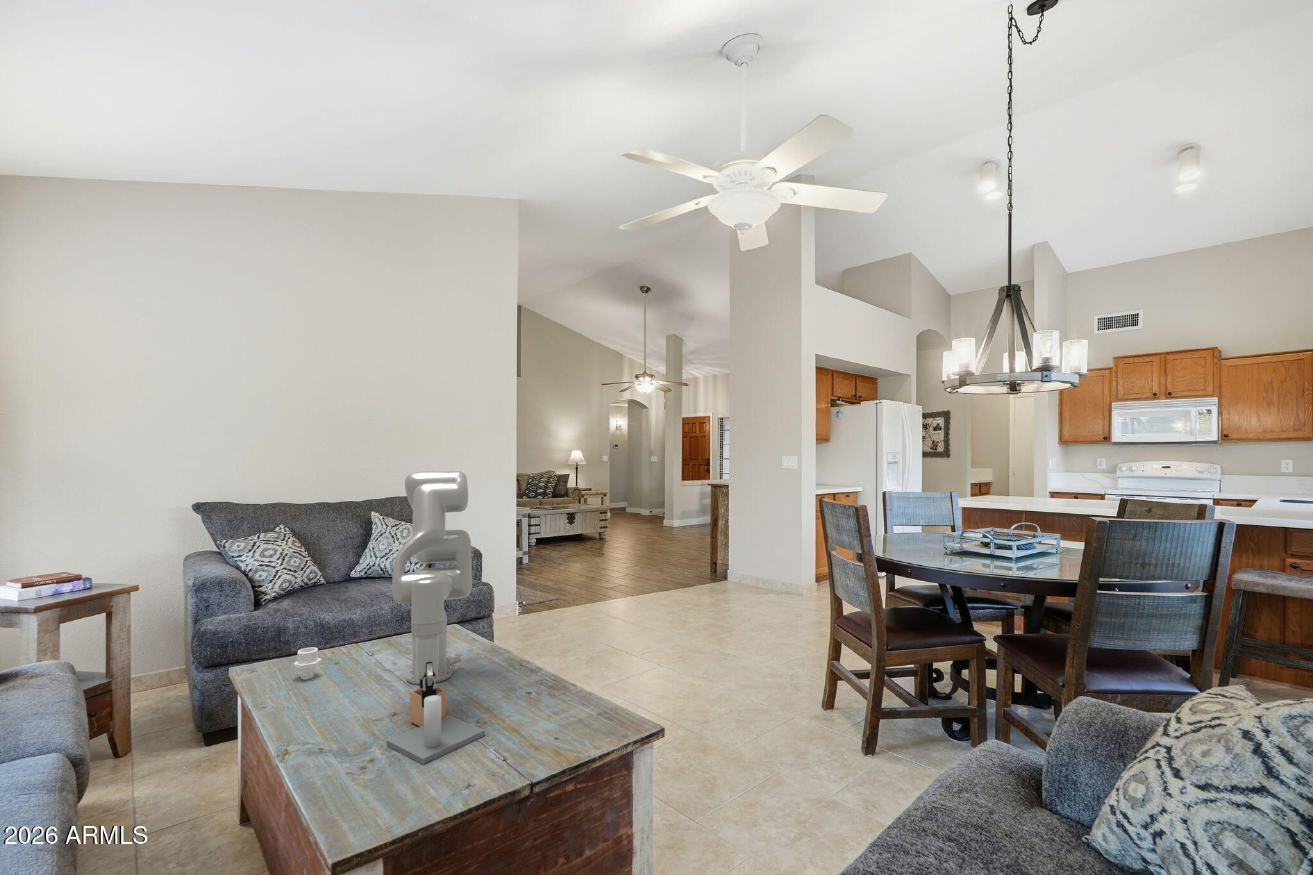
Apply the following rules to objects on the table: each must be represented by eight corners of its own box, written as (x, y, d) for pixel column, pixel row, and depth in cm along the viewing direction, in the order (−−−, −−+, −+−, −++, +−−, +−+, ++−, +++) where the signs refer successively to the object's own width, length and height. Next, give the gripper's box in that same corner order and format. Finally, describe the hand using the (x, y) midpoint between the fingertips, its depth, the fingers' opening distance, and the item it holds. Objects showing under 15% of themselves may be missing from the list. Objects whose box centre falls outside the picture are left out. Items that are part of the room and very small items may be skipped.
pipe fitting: (310, 672, 183) (310, 645, 183) (325, 675, 179) (325, 648, 180) (289, 679, 177) (289, 651, 177) (304, 683, 174) (305, 655, 174)
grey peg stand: (448, 719, 150) (448, 673, 150) (484, 735, 141) (484, 686, 142) (386, 745, 137) (386, 695, 137) (422, 764, 128) (422, 710, 129)
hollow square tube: (431, 712, 153) (431, 684, 153) (445, 719, 149) (446, 690, 149) (409, 720, 148) (410, 692, 148) (423, 728, 144) (424, 698, 144)
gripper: (410, 622, 156) (410, 690, 155) (412, 639, 140) (412, 715, 139) (441, 619, 159) (441, 685, 158) (447, 635, 143) (447, 709, 142)
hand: (427, 699), depth 149 cm, fingers open, 9 cm apart
